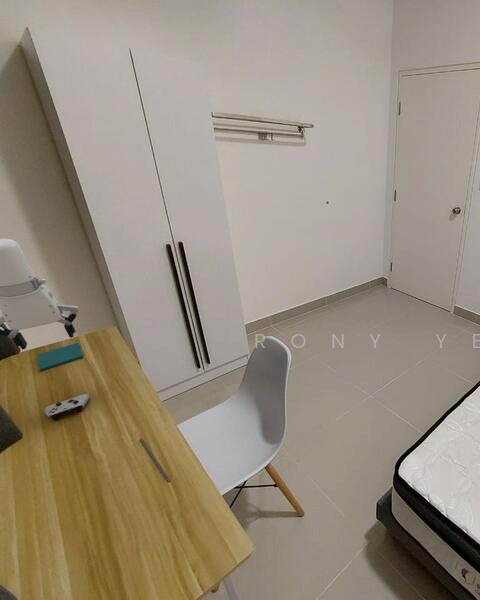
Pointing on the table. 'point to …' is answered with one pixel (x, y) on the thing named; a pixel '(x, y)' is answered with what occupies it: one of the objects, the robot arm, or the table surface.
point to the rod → (154, 460)
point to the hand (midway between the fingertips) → (49, 340)
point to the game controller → (66, 406)
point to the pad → (59, 356)
